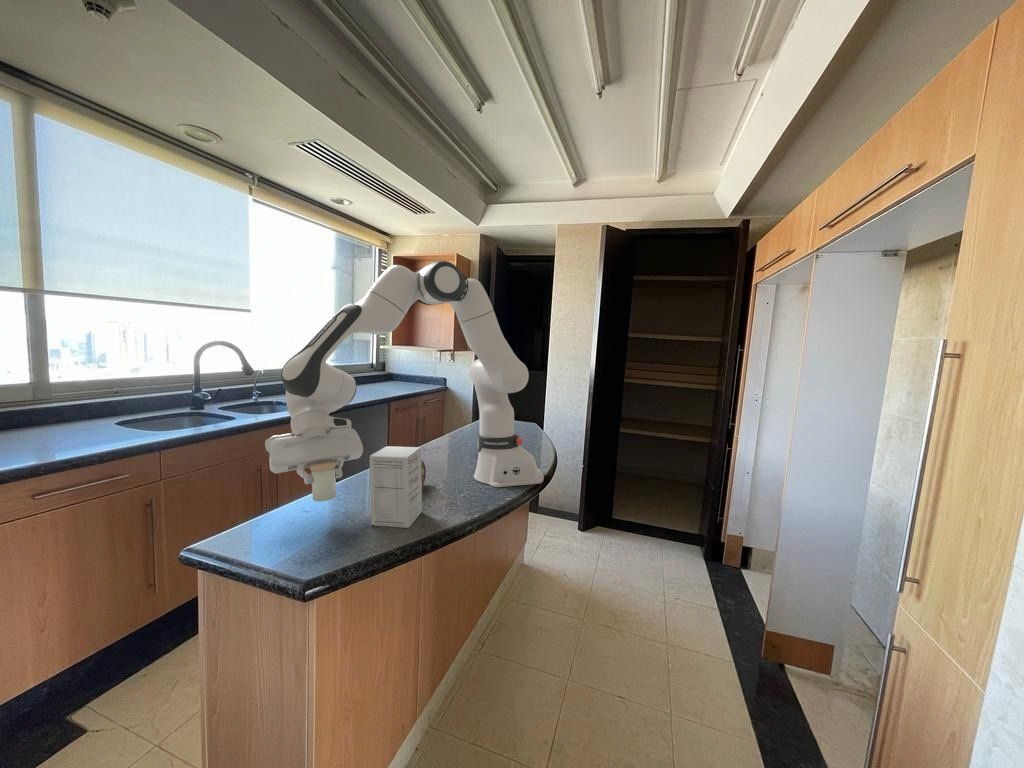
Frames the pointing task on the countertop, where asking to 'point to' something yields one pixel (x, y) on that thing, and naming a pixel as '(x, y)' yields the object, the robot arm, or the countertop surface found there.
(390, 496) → the supplement box
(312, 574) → the countertop surface
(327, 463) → the jar
